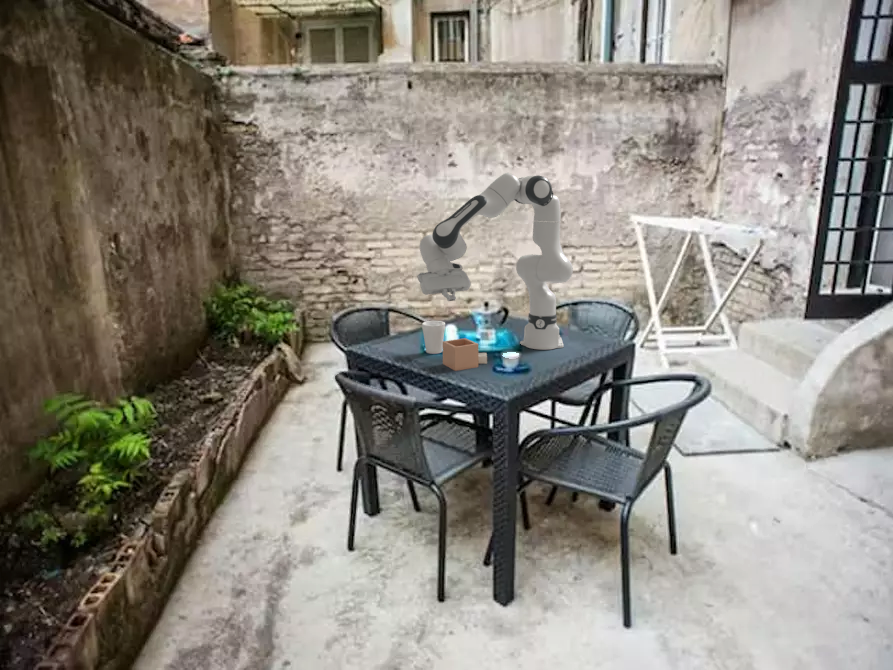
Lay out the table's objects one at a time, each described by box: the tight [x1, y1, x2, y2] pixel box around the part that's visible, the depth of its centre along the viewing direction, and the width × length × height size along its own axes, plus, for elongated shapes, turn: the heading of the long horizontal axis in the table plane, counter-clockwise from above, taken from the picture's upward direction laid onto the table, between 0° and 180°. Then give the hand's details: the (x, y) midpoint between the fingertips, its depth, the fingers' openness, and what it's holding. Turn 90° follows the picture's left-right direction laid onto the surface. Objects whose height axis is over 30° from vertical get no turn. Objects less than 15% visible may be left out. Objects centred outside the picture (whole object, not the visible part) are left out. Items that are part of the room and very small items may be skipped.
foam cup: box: [421, 320, 446, 355], centre depth 246 cm, size 10×9×13 cm
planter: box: [442, 337, 479, 372], centre depth 227 cm, size 10×10×10 cm
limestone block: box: [478, 352, 488, 365], centre depth 232 cm, size 5×5×4 cm
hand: (452, 300), depth 227 cm, fingers closed
